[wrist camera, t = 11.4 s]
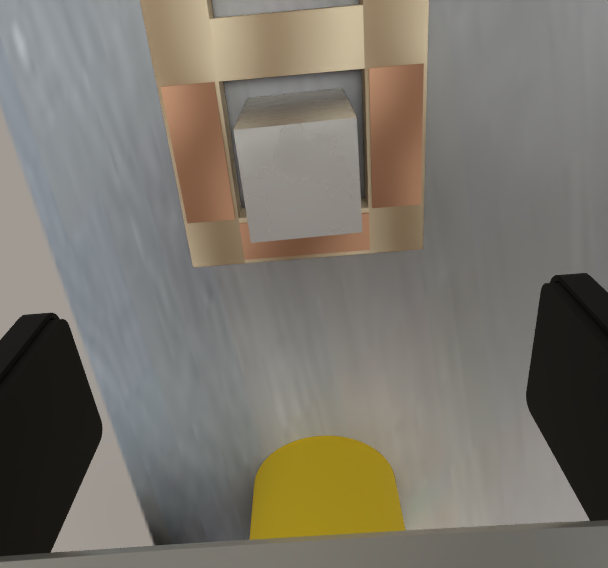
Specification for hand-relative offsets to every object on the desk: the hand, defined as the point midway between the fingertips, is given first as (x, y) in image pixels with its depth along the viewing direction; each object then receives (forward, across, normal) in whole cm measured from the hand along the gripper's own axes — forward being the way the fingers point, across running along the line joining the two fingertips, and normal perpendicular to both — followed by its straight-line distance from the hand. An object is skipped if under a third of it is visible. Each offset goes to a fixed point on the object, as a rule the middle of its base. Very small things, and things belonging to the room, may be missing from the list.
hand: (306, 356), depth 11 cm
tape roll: (+18, 0, +25) cm, 31 cm away
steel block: (+18, 0, 0) cm, 18 cm away
